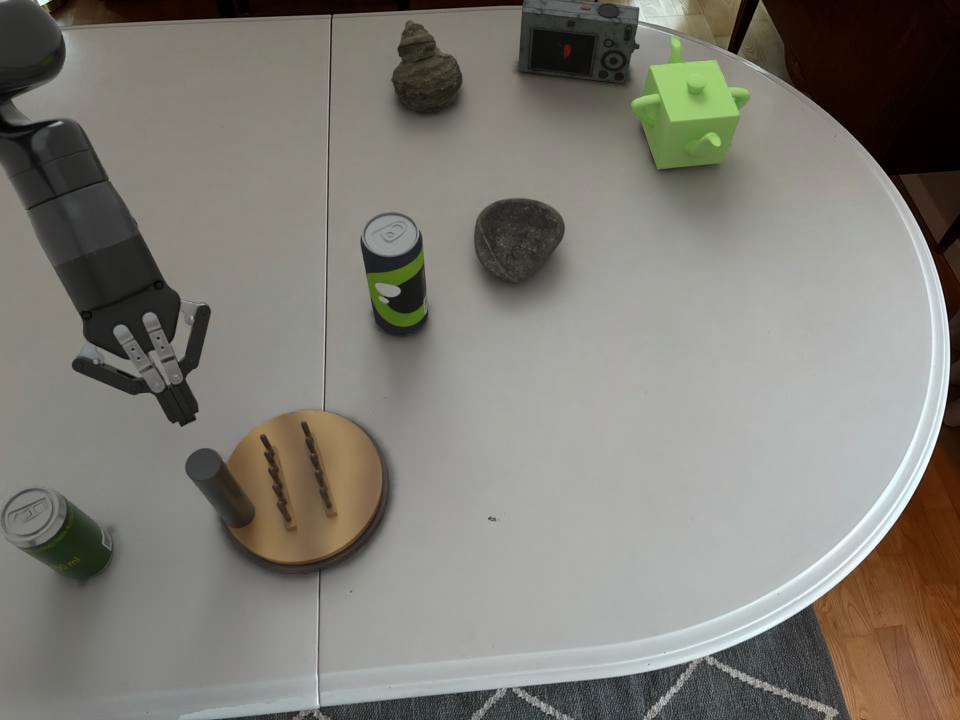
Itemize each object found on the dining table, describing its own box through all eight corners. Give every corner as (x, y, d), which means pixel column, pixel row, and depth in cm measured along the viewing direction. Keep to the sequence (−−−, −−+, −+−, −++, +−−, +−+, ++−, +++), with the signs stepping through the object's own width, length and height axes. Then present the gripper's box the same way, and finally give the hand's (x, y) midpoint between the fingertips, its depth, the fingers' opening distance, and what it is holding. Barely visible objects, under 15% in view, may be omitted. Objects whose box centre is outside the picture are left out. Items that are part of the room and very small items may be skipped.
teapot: (658, 92, 111) (675, 26, 102) (746, 130, 107) (772, 65, 98) (606, 158, 104) (619, 94, 95) (699, 201, 101) (721, 138, 92)
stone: (561, 293, 93) (566, 268, 89) (471, 289, 93) (471, 263, 89) (561, 220, 99) (565, 192, 95) (476, 216, 99) (476, 188, 95)
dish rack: (240, 588, 74) (198, 545, 63) (209, 442, 82) (166, 380, 70) (403, 532, 77) (391, 481, 66) (358, 395, 85) (341, 328, 73)
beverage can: (400, 285, 94) (389, 199, 81) (439, 314, 92) (434, 230, 79) (363, 318, 91) (345, 235, 78) (402, 349, 89) (391, 268, 76)
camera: (634, 67, 114) (647, 5, 105) (632, 86, 112) (645, 24, 103) (521, 54, 115) (525, -9, 106) (517, 72, 113) (521, 10, 104)
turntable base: (239, 599, 75) (236, 596, 74) (207, 444, 83) (203, 440, 82) (410, 539, 78) (409, 535, 77) (363, 396, 86) (362, 390, 85)
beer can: (103, 517, 79) (47, 471, 69) (125, 561, 77) (71, 519, 66) (50, 548, 77) (-15, 505, 67) (71, 593, 75) (7, 556, 65)
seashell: (466, 20, 109) (394, 16, 109) (464, 26, 99) (383, 22, 98) (464, 105, 114) (394, 102, 114) (461, 119, 104) (385, 116, 103)
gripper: (8, 280, 62) (115, 467, 68) (170, 216, 66) (260, 398, 71) (24, 274, 69) (120, 443, 74) (170, 216, 73) (252, 382, 78)
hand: (188, 421), depth 73 cm, fingers closed
